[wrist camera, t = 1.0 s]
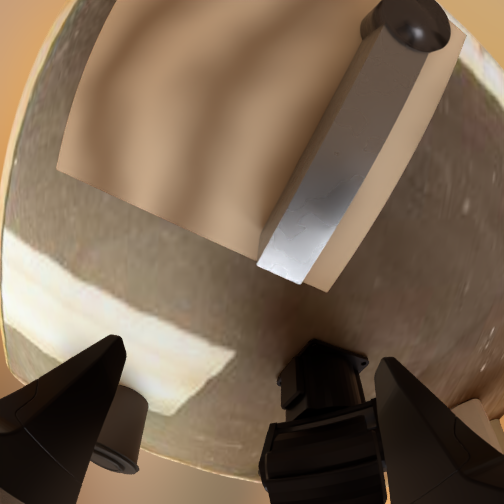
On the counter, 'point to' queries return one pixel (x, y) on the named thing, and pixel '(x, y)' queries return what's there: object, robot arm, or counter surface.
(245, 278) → the counter surface
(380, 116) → the swing bar
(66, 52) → the counter surface
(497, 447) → the paper towel roll
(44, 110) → the counter surface
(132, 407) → the coffee cup
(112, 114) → the tan flat square sheet
